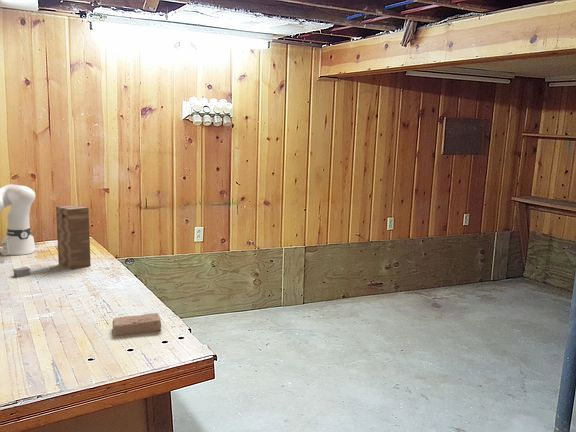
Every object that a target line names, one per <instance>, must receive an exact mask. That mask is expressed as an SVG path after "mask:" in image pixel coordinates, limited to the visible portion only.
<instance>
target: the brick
mask: <svg viewBox="0 0 576 432" xmlns="http://www.w3.org/2000/svg"><path fill="white" fill-rule="evenodd" d="M161 321H162V320H161V316H160V315H159V313H158V312H154V313H153V312H151V313H143V314H141V315H132V316H131V315H127V316H120V317H114V318H113V320H112V335H113V336H114V337H117V336H125V335H134V334H145V333H153V332H157V331H159V330H161V329H162V322H161Z"/></svg>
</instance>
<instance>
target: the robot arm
mask: <svg viewBox="0 0 576 432" xmlns="http://www.w3.org/2000/svg"><path fill="white" fill-rule="evenodd" d="M35 200H36V192H35V191H34V190H33V189H32V188H30V187H28V186H26V185H19V184H13V183H10V184H6V185H3V186H1V187H0V213H1V212H2V211H4V209H6V208H7V207H9V206H10V208H9V209H10V211H9V213H7V216H6V219H7V229H6V236H5V237H4V239H2V242H0V247H1V248H0V254H1V255H3V256H22V255H23V256H24V255H30V254H32V253H35V252H36V251H38V248H37V247H36V246H35V239H34V236H33V235H32V229H31V226H30V223H31V222H30V213H31V208H32V204H33V203H34V201H35ZM4 263H5V259H3V258H1V259H0V265H2V264H4Z"/></svg>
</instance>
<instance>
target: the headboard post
mask: <svg viewBox="0 0 576 432" xmlns="http://www.w3.org/2000/svg"><path fill="white" fill-rule="evenodd" d="M55 213H56V215H55V216H56V233H57V234H56V235H57V254H58V256H57V257H58V266H61V267H64V268H67V269H70V270H77V269H82V268H88V267H91V264H92V263H91V244H90V243H91V240H90V236H91V235H90V216H89V215H90V214H89V213H90V212H89V207H86V206H81V205H75V204H71V205H69V204H68V205H60V206H55Z"/></svg>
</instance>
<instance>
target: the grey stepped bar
mask: <svg viewBox="0 0 576 432" xmlns="http://www.w3.org/2000/svg"><path fill="white" fill-rule="evenodd" d="M47 272H50V267H43V268H42V267H41V268H38V269H32V270H31V268H30V267H28V266H22V267H17V268H13V276H14V277H15V276H16V278H17V277H18V278H23V277H28V276H31V275H35V274H41V273H47Z"/></svg>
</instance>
